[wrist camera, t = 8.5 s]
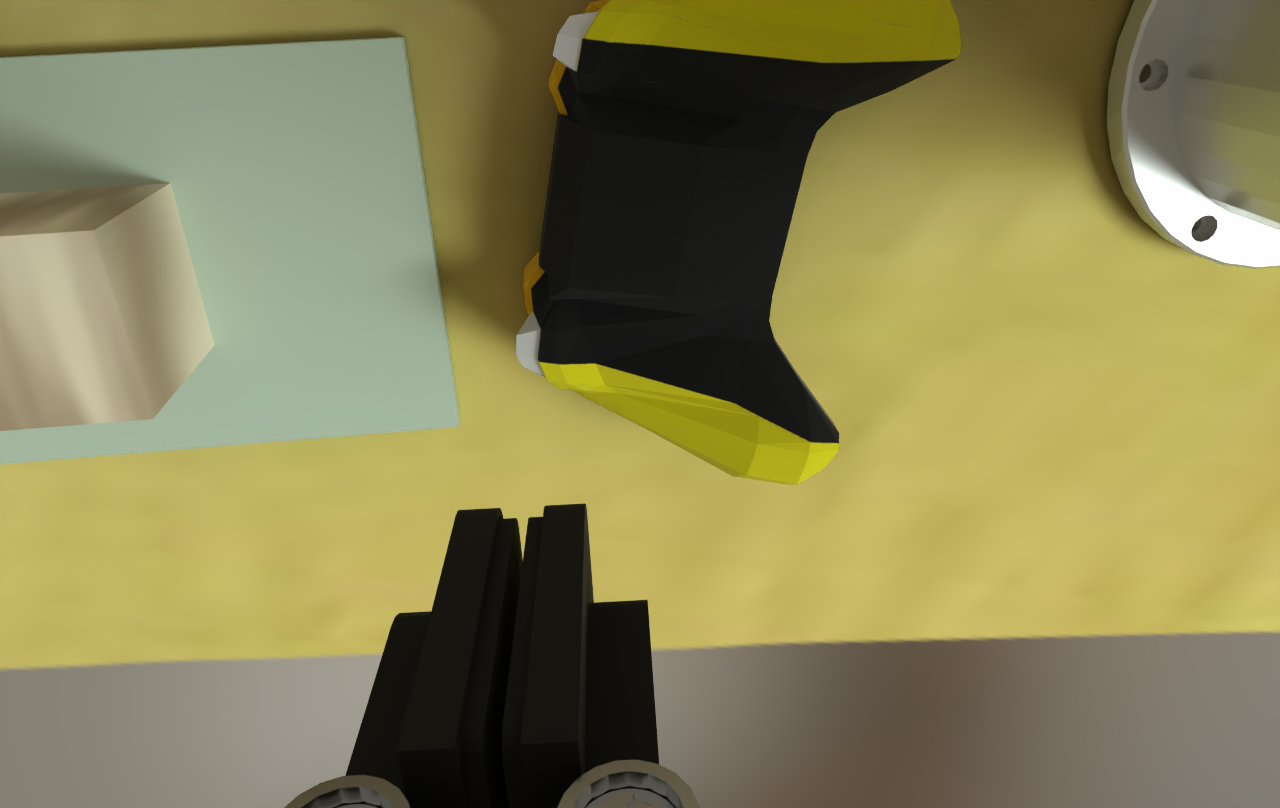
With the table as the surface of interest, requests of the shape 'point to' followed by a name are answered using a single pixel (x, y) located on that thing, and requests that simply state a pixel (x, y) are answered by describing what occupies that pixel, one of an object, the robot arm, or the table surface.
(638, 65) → the gaming controller
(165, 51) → the sage mat
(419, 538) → the table surface
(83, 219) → the birch pillar
